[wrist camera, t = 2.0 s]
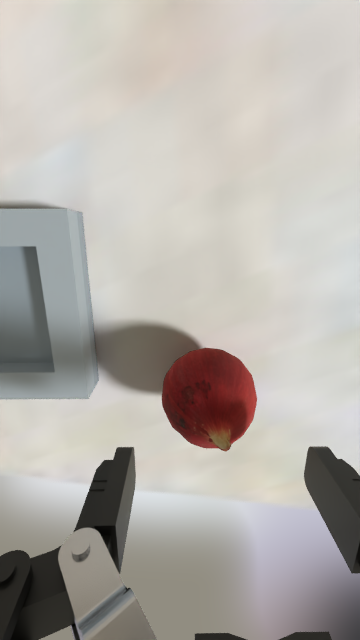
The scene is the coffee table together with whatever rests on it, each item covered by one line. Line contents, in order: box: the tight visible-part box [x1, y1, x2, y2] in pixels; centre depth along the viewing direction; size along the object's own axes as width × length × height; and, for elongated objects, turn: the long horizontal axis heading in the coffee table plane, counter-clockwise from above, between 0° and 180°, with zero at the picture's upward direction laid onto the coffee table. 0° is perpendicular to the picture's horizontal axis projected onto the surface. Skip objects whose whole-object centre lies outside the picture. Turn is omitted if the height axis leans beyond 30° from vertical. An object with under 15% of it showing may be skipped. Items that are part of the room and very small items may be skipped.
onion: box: [162, 348, 257, 451], centre depth 17 cm, size 6×6×8 cm
